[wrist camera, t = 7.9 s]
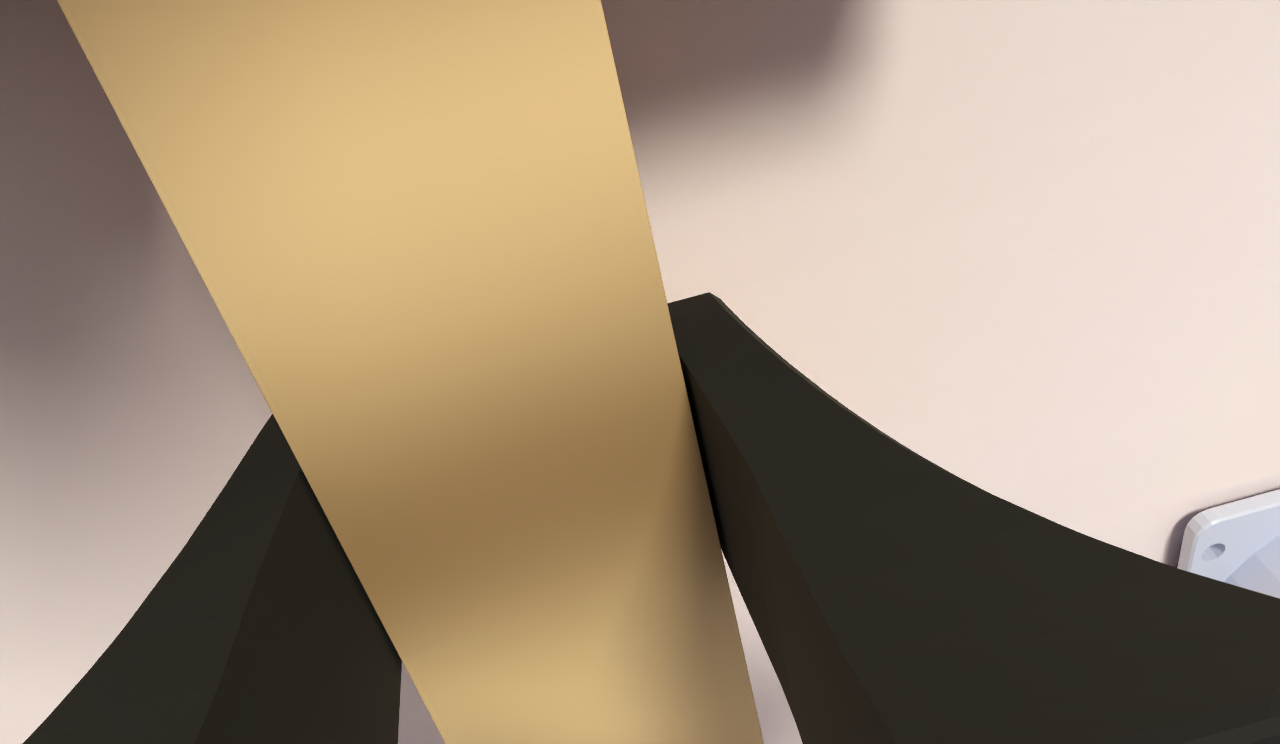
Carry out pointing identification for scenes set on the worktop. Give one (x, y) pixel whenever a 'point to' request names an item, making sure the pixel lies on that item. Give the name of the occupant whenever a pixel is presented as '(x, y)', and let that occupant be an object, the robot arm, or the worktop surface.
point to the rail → (454, 339)
